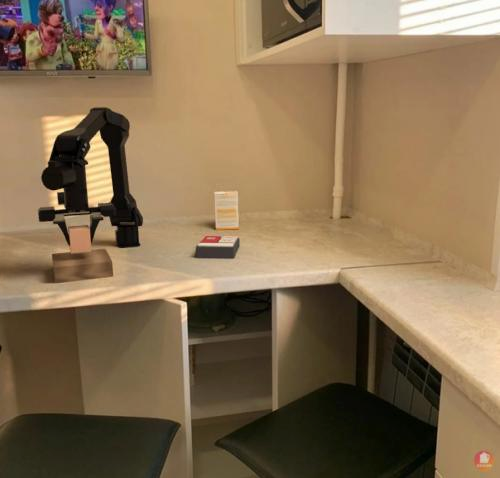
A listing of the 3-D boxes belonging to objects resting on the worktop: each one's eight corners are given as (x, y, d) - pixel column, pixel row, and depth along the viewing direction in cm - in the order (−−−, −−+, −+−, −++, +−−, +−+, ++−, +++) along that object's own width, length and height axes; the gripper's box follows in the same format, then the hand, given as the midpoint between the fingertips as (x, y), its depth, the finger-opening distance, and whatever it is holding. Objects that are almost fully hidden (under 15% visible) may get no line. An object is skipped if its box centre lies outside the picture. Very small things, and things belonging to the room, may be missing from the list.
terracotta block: (89, 247, 146) (87, 224, 145) (91, 251, 142) (89, 228, 140) (69, 248, 145) (67, 226, 143) (71, 253, 140) (69, 230, 139)
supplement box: (238, 226, 197) (237, 190, 194) (238, 229, 192) (238, 192, 189) (215, 227, 197) (214, 190, 194) (215, 230, 192) (214, 192, 189)
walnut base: (106, 262, 153) (105, 248, 152) (113, 276, 141) (112, 261, 140) (53, 268, 148) (51, 253, 148) (55, 283, 136) (53, 267, 135)
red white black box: (239, 235, 170) (234, 244, 155) (239, 249, 171) (234, 259, 156) (204, 234, 171) (195, 243, 156) (204, 248, 172) (195, 258, 157)
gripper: (108, 178, 150) (112, 234, 154) (35, 182, 143) (41, 241, 147) (114, 184, 140) (118, 243, 143) (35, 188, 133) (42, 251, 137)
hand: (80, 244), depth 143 cm, fingers closed on terracotta block, 5 cm apart
